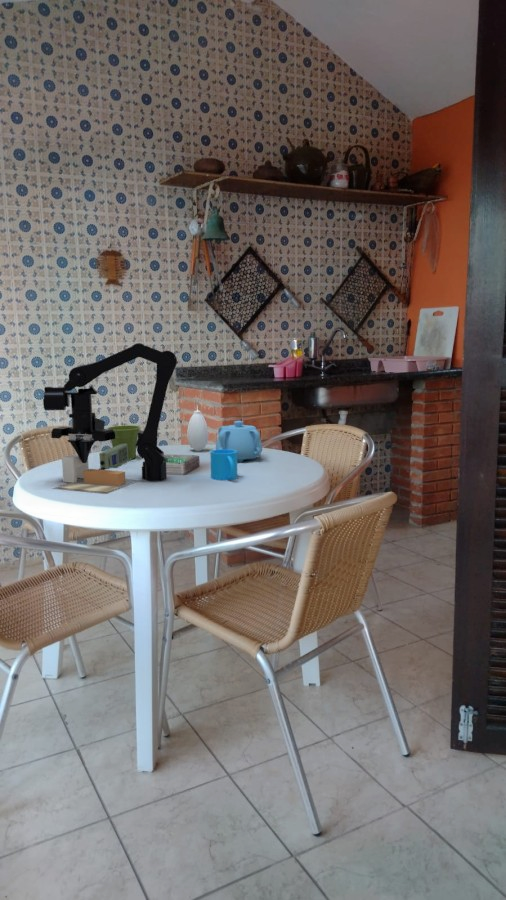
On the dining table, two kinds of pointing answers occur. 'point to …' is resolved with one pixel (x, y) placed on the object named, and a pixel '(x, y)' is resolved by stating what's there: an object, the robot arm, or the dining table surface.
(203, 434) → the white air blower
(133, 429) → the plant pot
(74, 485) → the pad
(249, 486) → the dining table surface
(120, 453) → the handheld radio
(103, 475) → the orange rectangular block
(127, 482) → the board
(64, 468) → the block
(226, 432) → the decorative pot
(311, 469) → the dining table surface
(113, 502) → the dining table surface
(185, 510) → the dining table surface
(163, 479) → the robot arm
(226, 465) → the mug
